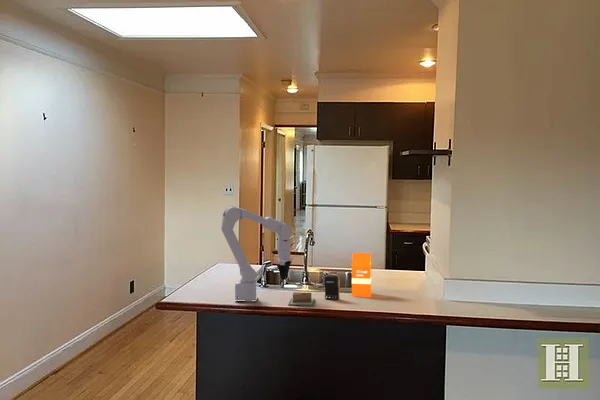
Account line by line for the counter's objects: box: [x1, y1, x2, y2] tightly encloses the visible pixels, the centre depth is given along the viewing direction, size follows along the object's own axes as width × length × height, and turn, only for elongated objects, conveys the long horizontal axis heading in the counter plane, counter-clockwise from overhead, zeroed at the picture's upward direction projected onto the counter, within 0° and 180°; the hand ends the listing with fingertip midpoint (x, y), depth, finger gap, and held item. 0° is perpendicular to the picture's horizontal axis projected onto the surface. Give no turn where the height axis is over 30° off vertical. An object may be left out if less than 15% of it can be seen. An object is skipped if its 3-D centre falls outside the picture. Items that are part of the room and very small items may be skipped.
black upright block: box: [323, 273, 341, 301], centre depth 240 cm, size 7×4×11 cm, turn 64°
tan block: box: [292, 291, 312, 303], centre depth 234 cm, size 4×8×4 cm, turn 84°
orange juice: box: [351, 252, 372, 298], centre depth 249 cm, size 8×9×20 cm
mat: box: [288, 298, 316, 307], centre depth 234 cm, size 11×11×1 cm
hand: (284, 278), depth 244 cm, fingers open, 7 cm apart
